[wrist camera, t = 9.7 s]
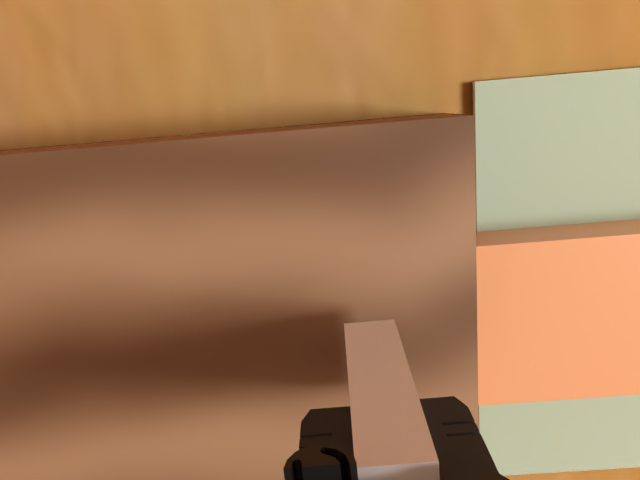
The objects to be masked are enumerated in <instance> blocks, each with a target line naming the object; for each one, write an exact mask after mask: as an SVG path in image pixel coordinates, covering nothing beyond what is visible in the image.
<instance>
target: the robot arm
mask: <svg viewBox="0 0 640 480" xmlns="http://www.w3.org/2000/svg"><path fill="white" fill-rule="evenodd" d="M344 331H345V344H346V357H347V371H348V384H349V397H350V406H344V407H332V408H320V409H310V410H309V412H308V413H307V415H306V416H305V417H304V419H303V420H302V421H301V428H300V440H299V450H298V451H296V452H294V453H293V454H292V455H291V456H290V457H289V458H288V459H287V461H286V463H285V466H284V468H283V471H284V478H285V480H509V479H507V478H506V477H504V476H502V475H501V474H499V472H498V470H497V468H496V466H495V463H494V461H493V459H492V457H491V455H490V453H489V451H488V448H487V446H486V444H485V442H484V440H483V438H482V436H481V434H480V431H479V429H478V427H477V425H476V423H475V421H474V418H473V416H472V414H471V412H470V410H469V408H468V406H466V405H465V404H464V403H462V402H461V401H460V400H459V399H457V398H456V397H455V396H449V397H437V398H425V399H419V396H418V393H417V390H416V387H415V384H414V380H413V377H412V374H411V371H410V368H409V365H408V361H407V358H406V355H405V352H404V349H403V345H402V342H401V339H400V336H399V333H398V329H397V326H396V323H395V320H394V319H391V320H380V321H368V322H357V323H345V324H344Z"/></svg>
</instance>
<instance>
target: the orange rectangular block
mask: <svg viewBox="0 0 640 480" xmlns="http://www.w3.org/2000/svg"><path fill="white" fill-rule="evenodd" d="M476 264H477V340H478V406H481V405H496V404H511V403H525V402H540V401H554V400H569V399H583V398H598V397H612V396H627V395H640V219H633V220H620V221H607V222H595V223H582V224H570V225H557V226H544V227H532V228H519V229H507V230H494V231H482V232H476Z"/></svg>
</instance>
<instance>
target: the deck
mask: <svg viewBox="0 0 640 480" xmlns="http://www.w3.org/2000/svg"><path fill="white" fill-rule="evenodd" d="M391 319H394V320H395V323H396V326H397V329H398V333H399V336H400V339H401V342H402V345H403V349H404V352H405V355H406V358H407V361H408V365H409V368H410V371H411V374H412V377H413V380H414V384H415V387H416V390H417V393H418V396H419V399H425V398H437V397H449V396H455V397H456V398H457V399H459V400H460V401H461V402H462V403H464V404H465V405H466V406H468V408H469V410H470V412H471V414H472V416H473V418H474V421H475V423H476V425H477V427H478V429H479V417H478V340H477V264H476V187H475V115H464V114H448V113H443V114H431V115H419V116H407V117H395V118H383V119H371V120H359V121H347V122H336V123H324V124H312V125H300V126H288V127H276V128H264V129H252V130H240V131H228V132H216V133H204V134H193V135H181V136H169V137H157V138H145V139H133V140H121V141H109V142H97V143H85V144H73V145H62V146H50V147H38V148H26V149H14V150H2V151H0V480H285V478H284V471H283V468H284V466H285V463H286V461H287V459H288V458H289V457H290V456H291V455H292V454H293V453H294V452H296V451H298V450H299V440H300V428H301V421H302V420H303V419H304V417H305V416H306V415H307V413H308V412H309V410H310V409H320V408H332V407H344V406H350V397H349V384H348V371H347V357H346V344H345V331H344V324H345V323H357V322H368V321H380V320H391Z"/></svg>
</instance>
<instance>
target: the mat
mask: <svg viewBox="0 0 640 480" xmlns="http://www.w3.org/2000/svg"><path fill="white" fill-rule="evenodd" d="M473 115H475V187H476V232H482V231H494V230H507V229H519V228H532V227H544V226H557V225H570V224H582V223H595V222H607V221H620V220H633V219H640V68H628V69H617V70H605V71H593V72H582V73H570V74H558V75H547V76H535V77H523V78H512V79H500V80H488V81H477V82H473ZM478 417H479V431H480V434H481V436H482V438H483V440H484V442H485V444H486V446H487V448H488V451H489V453H490V455H491V457H492V459H493V461H494V463H495V466H496V468H497V470H498V472H499V474H501V475H502V476H505V475H521V474H537V473H553V472H569V471H585V470H602V469H618V468H634V467H640V395H627V396H612V397H598V398H583V399H569V400H554V401H540V402H525V403H511V404H496V405H481V406H478Z"/></svg>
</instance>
